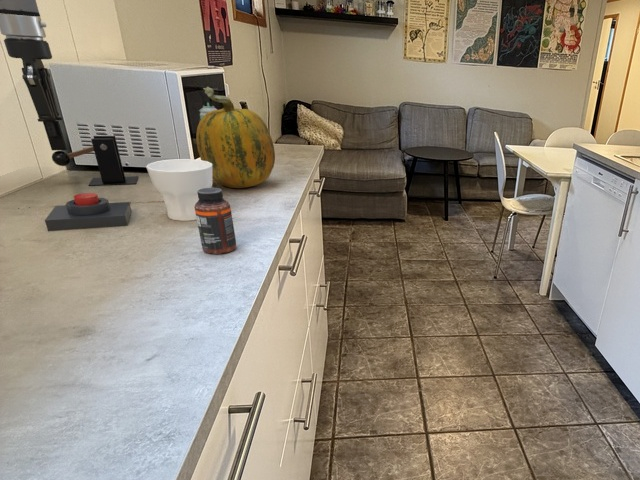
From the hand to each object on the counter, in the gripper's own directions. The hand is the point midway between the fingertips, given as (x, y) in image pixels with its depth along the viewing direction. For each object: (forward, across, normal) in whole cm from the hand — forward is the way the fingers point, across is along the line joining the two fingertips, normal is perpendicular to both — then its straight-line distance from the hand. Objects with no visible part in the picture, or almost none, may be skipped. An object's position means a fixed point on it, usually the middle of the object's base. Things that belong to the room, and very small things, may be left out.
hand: (59, 149), depth 113 cm
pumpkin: (+9, -6, -39) cm, 41 cm away
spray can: (+9, +8, -34) cm, 36 cm away
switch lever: (+2, 0, -5) cm, 5 cm away
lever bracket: (+9, 0, -9) cm, 13 cm away
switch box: (+9, -30, -8) cm, 32 cm away
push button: (+6, -30, -8) cm, 31 cm away
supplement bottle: (+9, -53, -31) cm, 62 cm away
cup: (+9, -30, -26) cm, 41 cm away
